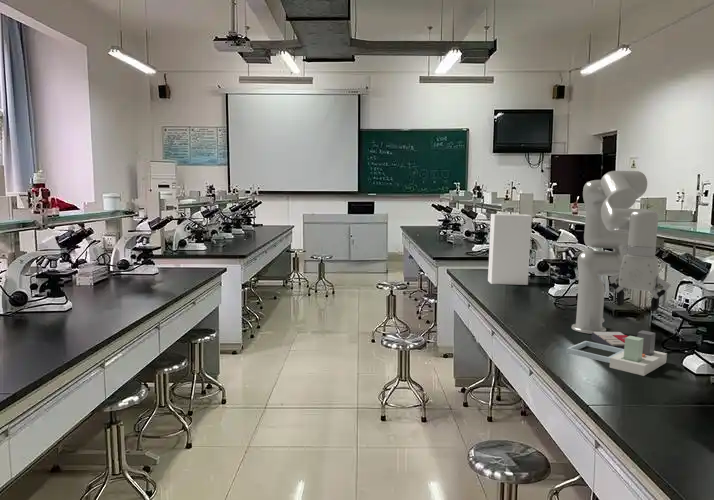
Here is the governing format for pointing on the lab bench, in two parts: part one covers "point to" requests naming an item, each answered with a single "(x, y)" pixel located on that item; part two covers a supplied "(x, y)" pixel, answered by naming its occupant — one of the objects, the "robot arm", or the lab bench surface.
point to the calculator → (610, 338)
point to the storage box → (509, 249)
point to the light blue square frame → (576, 351)
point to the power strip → (638, 368)
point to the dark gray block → (647, 342)
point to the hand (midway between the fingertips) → (636, 307)
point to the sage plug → (633, 349)
